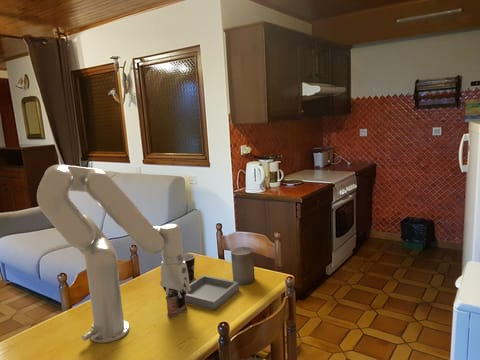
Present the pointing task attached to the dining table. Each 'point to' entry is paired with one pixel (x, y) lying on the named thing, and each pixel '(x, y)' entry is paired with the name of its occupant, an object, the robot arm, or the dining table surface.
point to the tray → (211, 292)
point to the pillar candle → (243, 265)
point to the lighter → (174, 304)
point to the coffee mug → (190, 264)
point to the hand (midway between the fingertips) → (176, 304)
